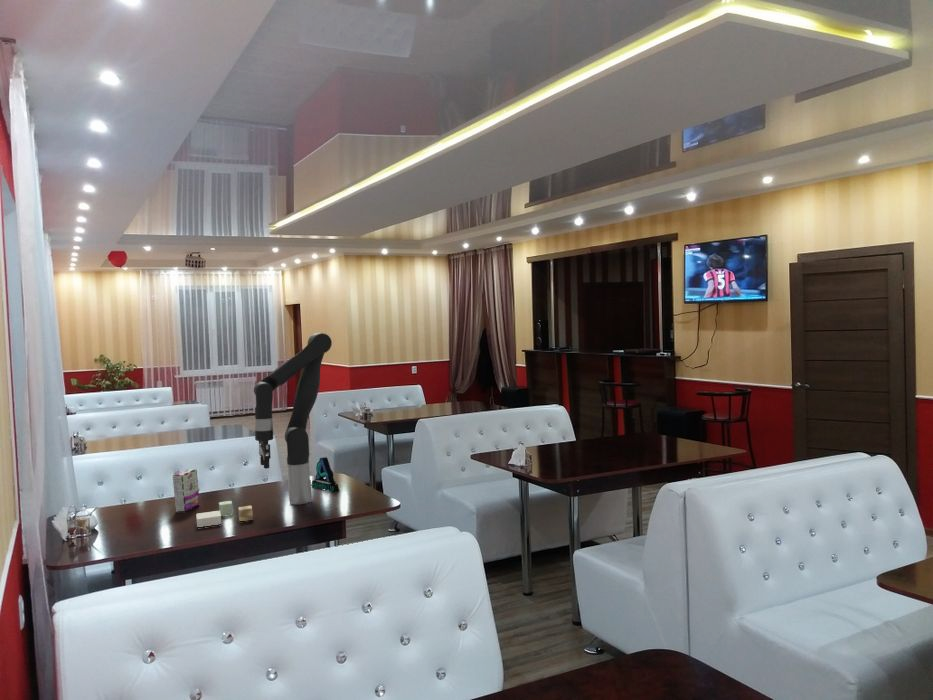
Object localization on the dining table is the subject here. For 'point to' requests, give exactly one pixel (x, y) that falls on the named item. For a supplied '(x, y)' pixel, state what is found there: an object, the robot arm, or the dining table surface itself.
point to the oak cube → (245, 513)
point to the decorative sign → (325, 476)
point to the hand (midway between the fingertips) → (264, 466)
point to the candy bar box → (186, 490)
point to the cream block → (208, 518)
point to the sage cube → (225, 508)
